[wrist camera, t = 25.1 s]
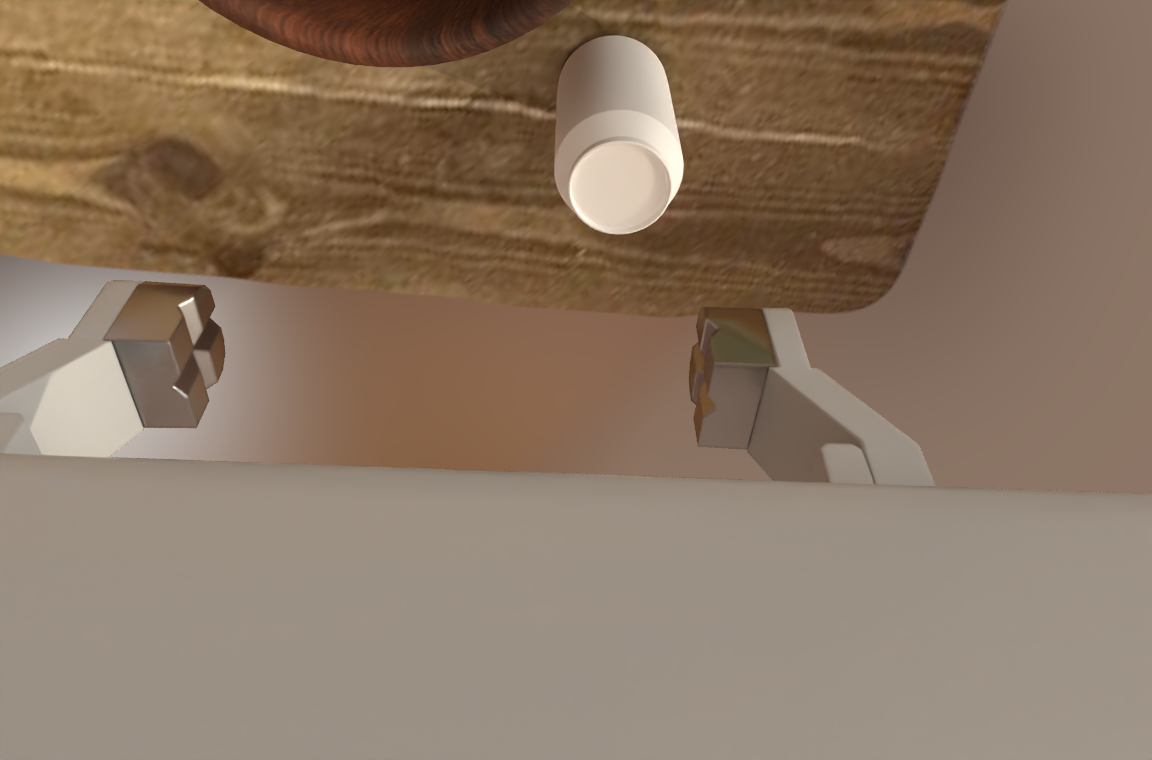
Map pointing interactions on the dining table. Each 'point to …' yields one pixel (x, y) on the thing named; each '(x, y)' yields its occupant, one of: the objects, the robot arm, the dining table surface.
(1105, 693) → the robot arm
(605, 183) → the beverage can
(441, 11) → the wooden bowl
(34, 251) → the dining table surface
